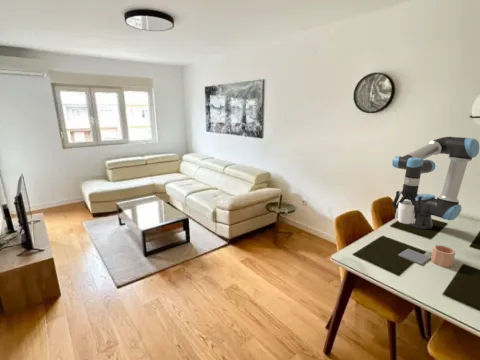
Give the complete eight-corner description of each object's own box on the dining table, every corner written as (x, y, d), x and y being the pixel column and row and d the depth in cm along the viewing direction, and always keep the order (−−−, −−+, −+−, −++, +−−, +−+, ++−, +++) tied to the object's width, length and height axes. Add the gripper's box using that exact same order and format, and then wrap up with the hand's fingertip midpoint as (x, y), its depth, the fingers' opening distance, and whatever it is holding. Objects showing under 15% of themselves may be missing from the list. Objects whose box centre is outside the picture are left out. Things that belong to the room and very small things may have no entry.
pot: (435, 256, 149) (437, 244, 147) (453, 263, 142) (457, 250, 140) (428, 261, 144) (431, 248, 142) (447, 269, 137) (450, 255, 135)
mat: (407, 249, 156) (407, 248, 156) (430, 258, 147) (430, 257, 146) (397, 255, 150) (398, 254, 149) (421, 265, 140) (421, 264, 140)
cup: (415, 225, 152) (419, 206, 149) (398, 224, 154) (402, 205, 151) (409, 219, 161) (413, 201, 158) (393, 218, 163) (396, 200, 160)
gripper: (389, 181, 158) (383, 216, 164) (429, 189, 141) (421, 228, 147) (395, 179, 162) (389, 213, 168) (435, 187, 145) (427, 225, 151)
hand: (404, 220), depth 157 cm, fingers closed on cup, 9 cm apart
